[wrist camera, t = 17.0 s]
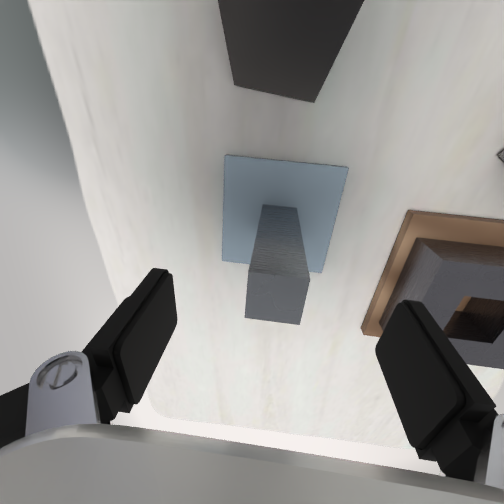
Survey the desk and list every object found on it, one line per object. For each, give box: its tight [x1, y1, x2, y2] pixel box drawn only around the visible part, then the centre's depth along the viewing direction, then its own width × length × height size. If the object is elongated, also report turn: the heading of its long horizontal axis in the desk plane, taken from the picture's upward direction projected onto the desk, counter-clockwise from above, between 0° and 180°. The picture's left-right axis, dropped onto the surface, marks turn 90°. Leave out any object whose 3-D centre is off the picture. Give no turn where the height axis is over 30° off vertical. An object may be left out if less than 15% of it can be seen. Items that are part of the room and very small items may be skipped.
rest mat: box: [222, 155, 349, 273], centre depth 22 cm, size 10×10×1 cm
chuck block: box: [379, 237, 504, 369], centre depth 22 cm, size 10×10×4 cm
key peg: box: [245, 204, 310, 325], centre depth 18 cm, size 3×3×11 cm
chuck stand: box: [361, 210, 504, 337], centre depth 24 cm, size 14×12×1 cm
